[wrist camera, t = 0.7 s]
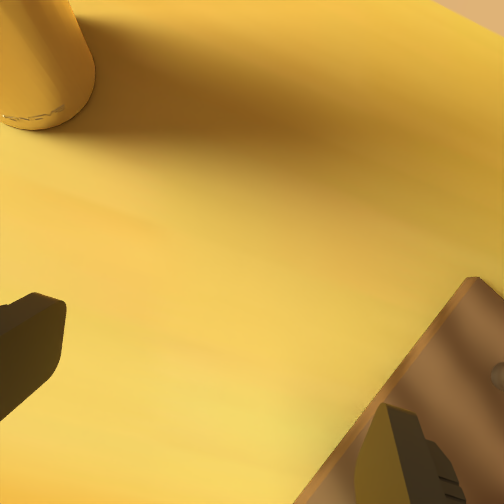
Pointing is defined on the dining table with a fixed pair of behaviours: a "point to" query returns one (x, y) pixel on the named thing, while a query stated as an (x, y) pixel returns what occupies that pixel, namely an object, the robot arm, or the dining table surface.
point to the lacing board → (441, 400)
